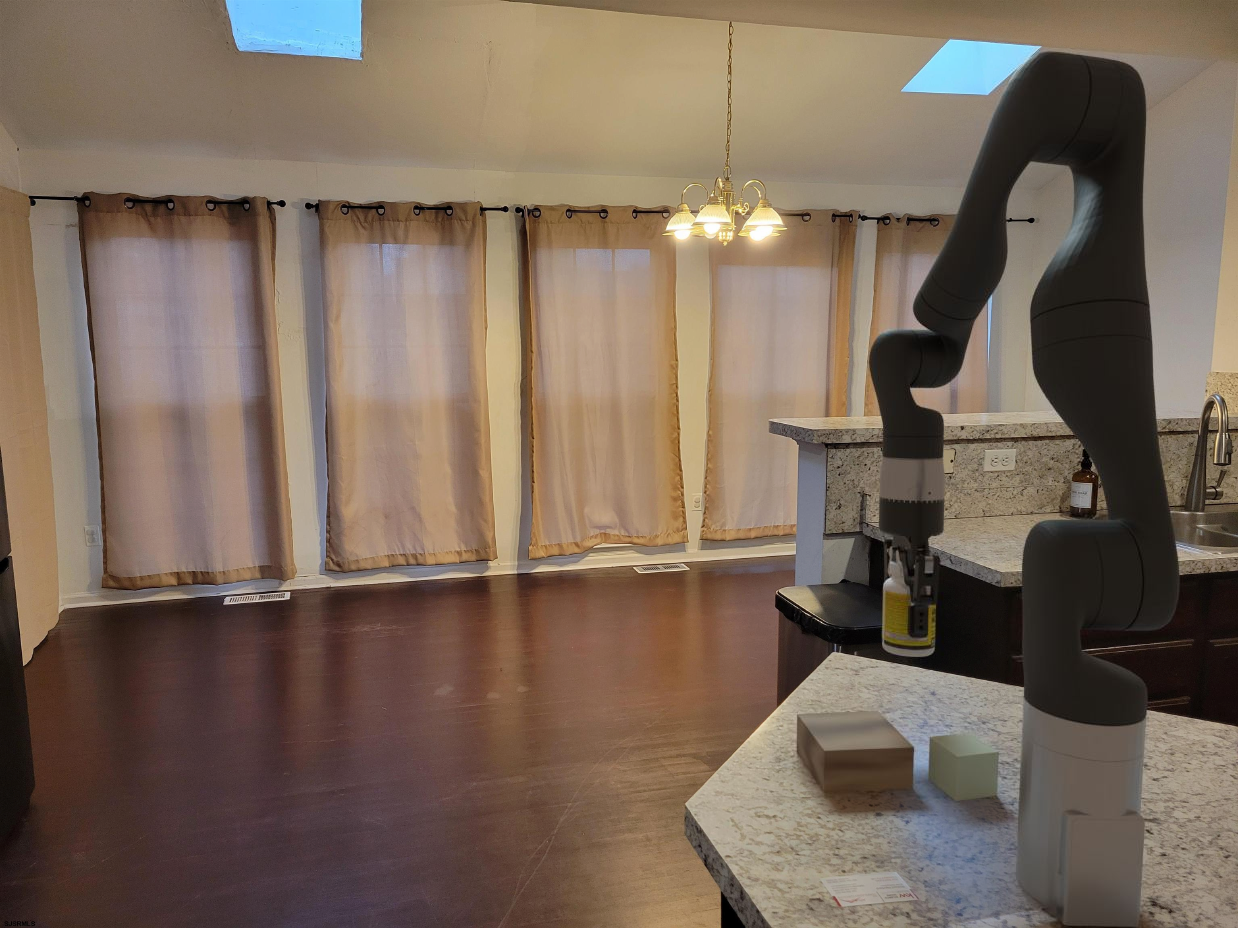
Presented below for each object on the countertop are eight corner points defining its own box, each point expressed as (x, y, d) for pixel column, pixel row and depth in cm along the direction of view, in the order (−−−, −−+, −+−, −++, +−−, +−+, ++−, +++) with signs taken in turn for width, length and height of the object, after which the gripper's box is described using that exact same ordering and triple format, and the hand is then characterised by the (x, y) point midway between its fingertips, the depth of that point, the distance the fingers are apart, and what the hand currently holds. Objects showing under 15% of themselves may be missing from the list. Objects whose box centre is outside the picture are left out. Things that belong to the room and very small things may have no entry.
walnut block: (912, 790, 91) (914, 746, 90) (823, 794, 90) (824, 750, 89) (877, 750, 100) (878, 710, 100) (796, 753, 100) (797, 713, 99)
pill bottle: (942, 658, 99) (945, 567, 98) (890, 658, 99) (892, 567, 98) (924, 643, 105) (926, 557, 104) (875, 643, 105) (877, 557, 105)
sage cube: (997, 796, 89) (998, 751, 88) (956, 801, 88) (957, 756, 87) (967, 774, 94) (969, 732, 93) (928, 779, 93) (929, 736, 92)
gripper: (965, 501, 94) (961, 646, 95) (922, 488, 108) (919, 614, 109) (898, 501, 94) (895, 646, 95) (864, 488, 108) (862, 614, 109)
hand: (908, 628), depth 102 cm, fingers closed on pill bottle, 6 cm apart
